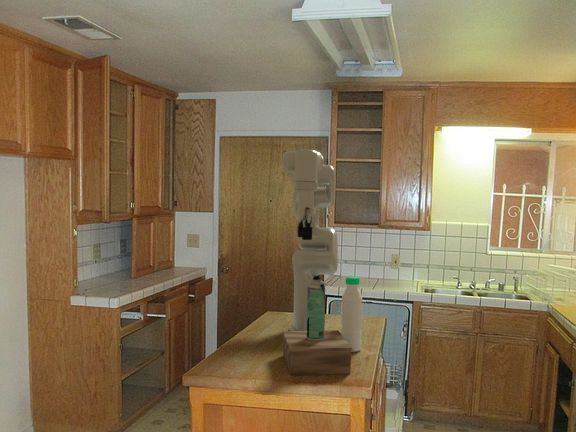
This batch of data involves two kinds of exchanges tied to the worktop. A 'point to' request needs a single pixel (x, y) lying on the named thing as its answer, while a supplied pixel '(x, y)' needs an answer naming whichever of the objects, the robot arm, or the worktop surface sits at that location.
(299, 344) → the brown wooden block
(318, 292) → the spray can
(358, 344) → the water bottle
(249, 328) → the worktop surface
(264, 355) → the worktop surface
